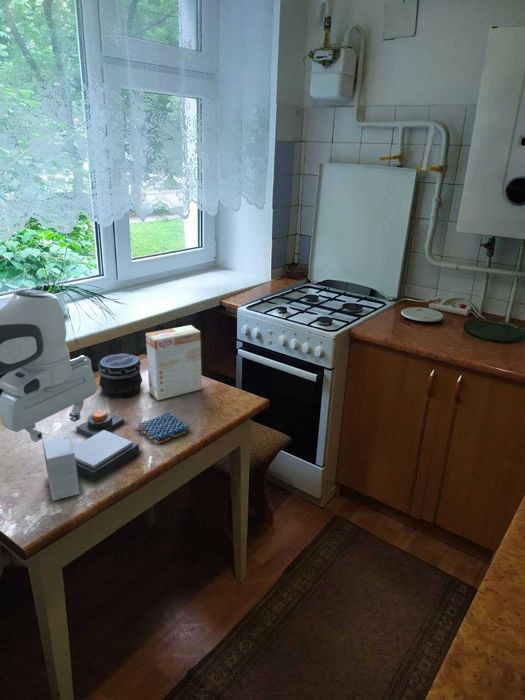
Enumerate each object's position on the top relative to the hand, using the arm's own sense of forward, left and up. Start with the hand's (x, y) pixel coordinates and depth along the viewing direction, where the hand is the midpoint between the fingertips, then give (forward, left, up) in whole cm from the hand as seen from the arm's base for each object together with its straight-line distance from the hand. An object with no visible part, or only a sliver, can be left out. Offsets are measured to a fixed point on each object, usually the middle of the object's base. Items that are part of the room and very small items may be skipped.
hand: (56, 429), depth 103 cm
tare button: (+22, +13, -12) cm, 28 cm away
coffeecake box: (+50, +11, -15) cm, 53 cm away
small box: (0, 0, -15) cm, 15 cm away
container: (+41, +25, -15) cm, 50 cm away
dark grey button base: (+22, +13, -15) cm, 29 cm away
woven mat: (+30, -2, -15) cm, 33 cm away
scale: (+12, +2, -15) cm, 19 cm away
